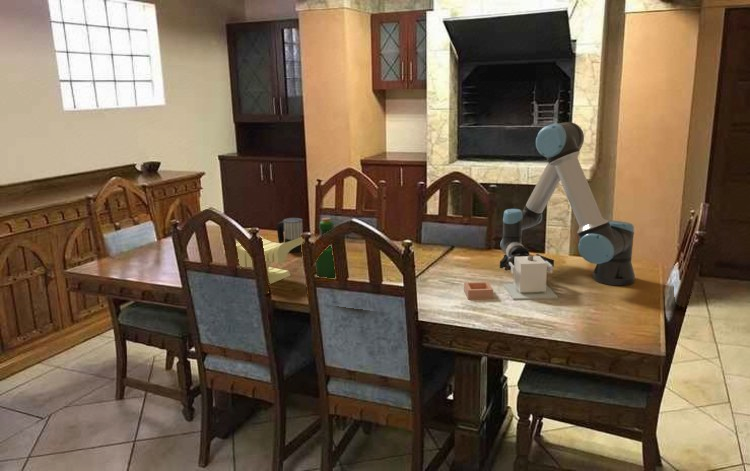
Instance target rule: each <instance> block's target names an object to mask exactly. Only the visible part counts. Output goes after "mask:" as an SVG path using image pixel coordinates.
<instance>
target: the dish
mask: <svg viewBox="0 0 750 471" xmlns="http://www.w3.org/2000/svg"><path fill="white" fill-rule="evenodd" d="M463 293H464V294H465V296H466V298H467V300H469V301H470V300H472V299H473V300H474V299H475V300H493V299H494V289H493V287H492V286H491V283H490V282H489V281H465V282H463Z"/></svg>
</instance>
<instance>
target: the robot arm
mask: <svg viewBox="0 0 750 471" xmlns="http://www.w3.org/2000/svg"><path fill="white" fill-rule="evenodd" d="M584 135H585V134H584V131H583V129H582V128H581V126H580V125H578V124H576V123H574V122H572V121H565V122H561V123H560V122H559V123H551V124H548V125H546V126H543V127H542V128H541V129H540V130H539V131H538V133H537V136H536V138H535V148H536V149H537V152H538V153H539V154H540V155H541V156H543V157H544V158H546V160H547V163H546V166H545V167H544V170H543V171H542V174H541V175H540V177H539V179H538V181H537V183H536V184H535V185H534V188H533V191H532V192H531V194H530V196H529V197H528V199H527V202H526V203H525V206H524V208H523V209H522V210H521V209H519V208H507V209H505V210H504V211H503V218H502V239H501V241H500V242H499V243H500V249H501V251H502V252H503V257H502V259H501V260H500V261H499V269H503V268H504V271H509V272H510V273H511V274H512V275H514V274H515V267H514V257H522V256H534V255H532V254H530V252H529V250H528V249H527V248H526V247H525V246H524V245H523V244H522V235H523V233H522V232H523V230H527V229H529V228H532V227H533V228H534V227H536V226H537V225H539V224H541V222H542V221H543V211H544V210H545V209H546V207H547V205H548V203H549V201H550V199H551V198H552V196H553V194H554V192H555V191H556V189H557V186H558V185H559V183H561V185H562V187H563V190H564V193H565V195H566V197H567V200H568V202H569V204H570V207H571V209H572V212H573V214H574V218H575V219H576V222H577V225H578V230H577V236H578V238H579V242H578V246H577V249H578V252H579V255H580V256H581V258H583V260H585V261H586V262H588V263H589V264H594V265H595V267H594V269H593V272H592V279H593V280H594V281H595V282H597V283H600V284H603V285H608V286H609V285H610V286H628V285H633V284H634V283H635V282H634V281H636V280H635V278H636V274H635V272H634V271H635V270H634V267H633V263H632V257H633V256H632V255H633V245H634V237H635V236H634V234H635V226H634V224H632V223H631V222H627V221H622V220H621V221H619V220H611V219H609V220H607V219H605V218H603V216H602V214H601V211H600V209H599V207H598V204H597V201H596V198H595V196H594V194H593V192H592V190H591V189H592V188H591V186H590V184H589V182H588V179H587V177H586V174H585V173H584V170H583V168H582V164H581V163H580V161H579V155H580V153H581V149H582V147H583V145H584V140H585V136H584ZM535 256H540V257H541V258H542V259H543V260H544V261H545V262H546V263H547V272H548V273H549V274H553V267H554V266H555V260H554V259H552V258H549V257H547V256H543V255H541V254H539V253H536V254H535Z"/></svg>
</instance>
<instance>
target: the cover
mask: <svg viewBox="0 0 750 471" xmlns="http://www.w3.org/2000/svg"><path fill="white" fill-rule="evenodd" d="M514 267H515V274H513V283H514V285H515V286H516V288H517V289H518V290H519V292H523V293H535V292H539V291H546V285H547V272H548V271H547V263H546V262H545V261H544V260H543V259H542V258H541V257H540V256H536V255H533V256H522V257H514Z"/></svg>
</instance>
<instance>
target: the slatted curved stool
mask: <svg viewBox="0 0 750 471" xmlns="http://www.w3.org/2000/svg"><path fill="white" fill-rule="evenodd" d="M247 229H251V228H250V227H249V228H247ZM259 236H260V237H261V238H262V241H263V248H264V255H265V261H266V266H267V271H268V276H269V281H270V284H269V285H272V284H273V283H276V282H278V281H281V280H283V279H286V278H288V277H291V274H290V271H289V270H287V269H286V270H285V269H282V268H281V269H280V268H276V267H275V268H274V267H271V266H270V265H271V263H274V264H275V265H281V264H284V263H286V262H287V256H288V255H289V253H290V252H289V251H290V250H292V249H293V248H295V247H296V246H299V245H301V244H302V242H303V239H302V237H300V238H298V239H295V240H292V241H289V242H286V243H285V242H283V243H279V242H273V241H271V240H268V239H266V238H264V237H263V236H261V235H259ZM221 245H222V246H221V247H222V254H223V255H225V250H224V245H223V241H222V244H221ZM236 246H237V252H238V258H237V260H238V259H239V262H238V264H240V265H239V267H240V266H242V267H252V260H251V257H250V256H249V254H248V253H247V251H246V250H245V249H244V248H243V247H242V246H241V244H240V243H239V242H238V241H236Z"/></svg>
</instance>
